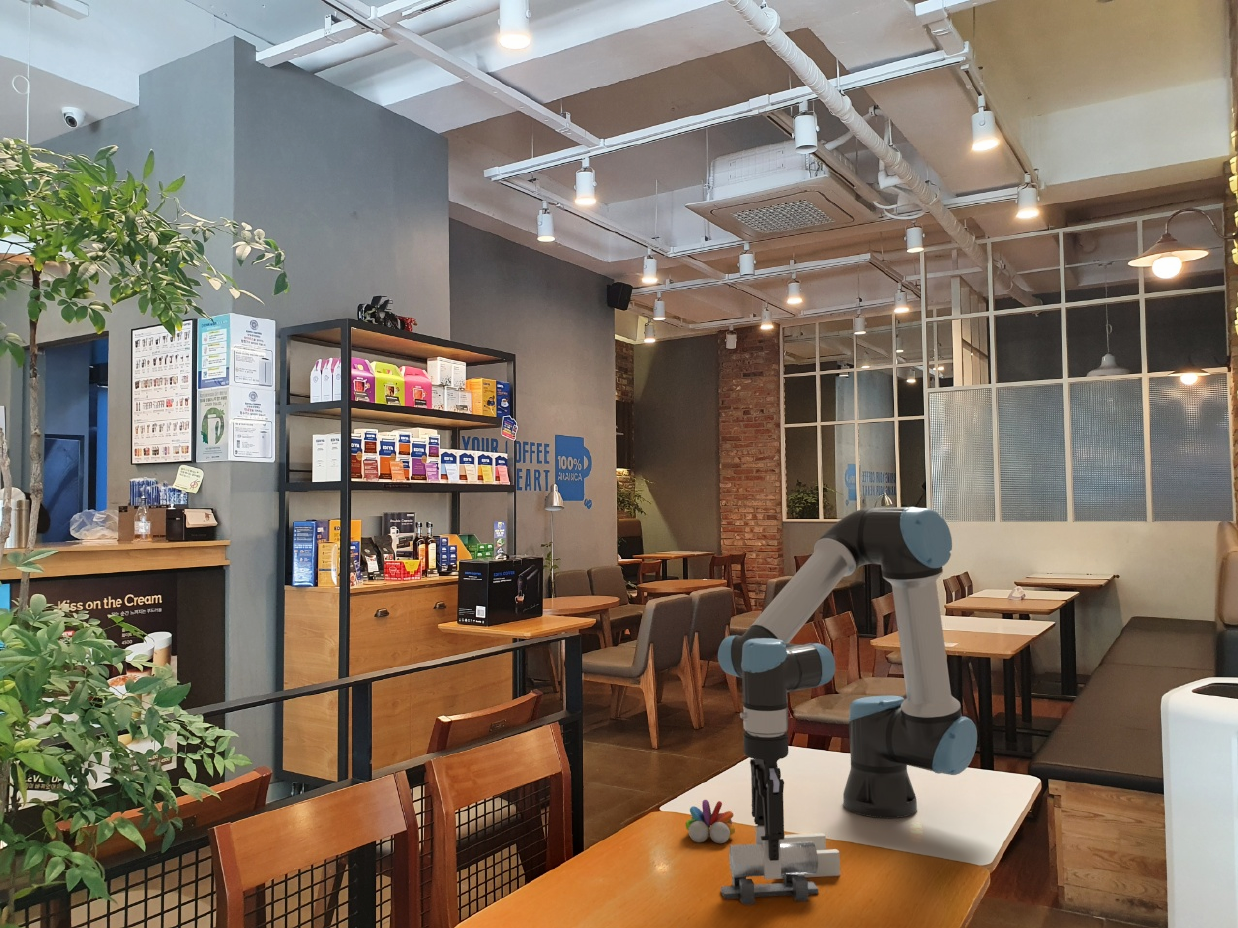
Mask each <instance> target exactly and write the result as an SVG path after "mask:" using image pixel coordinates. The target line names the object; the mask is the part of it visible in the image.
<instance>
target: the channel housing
mask: <svg viewBox="0 0 1238 928" xmlns="http://www.w3.org/2000/svg"><path fill="white" fill-rule="evenodd" d="M784 836H785V837H784V840H780V842H781V843H786V842H807V841H813V842H814V844H815V847H816V850H817V856H818V871H817V873H812V874H798V876H805V878H817V877H839V876H840V877H841V864H840V863H841V859H840V858H841V856H840V851H839V850H838V849H836V848H833V849H832V848H831V849H827V845H826V843H827V842H826V840H827V839H826V835H825V833H823V832H815V833H799V834H798V833H796V834H795V833H794V834H784ZM781 879H782V880H783V875H781Z"/></svg>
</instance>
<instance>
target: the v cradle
mask: <svg viewBox="0 0 1238 928" xmlns="http://www.w3.org/2000/svg"><path fill="white" fill-rule="evenodd" d="M731 880H732V881H731V883H732V885H728V886H727V885H725V886H723V885H722V886H720V892H721V895H722V896H723V899H724V900H731V899H734V900H735V899H739V901H740V902H741V904H742V905H744V906H745V905H755V903H756V901H755V898H767V897H784V896H785V897H786V896H792V897H793V899H794V900H795V902H796V903H797V902H808V901H809V895H818V894H819V888H818V886H817V885H816V883H815V882H814V881H808V879H807V877H805V876H798V874H792V875H783V879H782V881H783V882H780V883H761V884H755V882H754V880H753V878H747V877H733V876H732V875H731Z"/></svg>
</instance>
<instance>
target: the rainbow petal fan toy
mask: <svg viewBox="0 0 1238 928" xmlns="http://www.w3.org/2000/svg"><path fill="white" fill-rule="evenodd" d="M701 802H702V810H701V809H700V808H699V807H697V806H691V807H690V808H689V812H690V815H691V818H690V819H688V820H687V821H686V822H685V829H686V830H687V831H688V835H689V837H690V839H691V840H692V841H694V842H696V843H704V842H705V841H706V840H707V839H708V838H709V837H710V839H711V840H712V841H713V842H714V843H717V844H724V843H726V842H727V841H728V840H729V838H730V836H732V835H734V834H735V831H736V828H735V826H734V825H733V817H734V812H733V811H731V810H727V811H724V812H720V810H722V809H721V808H722V806H723V803H722V801H719V800H718V801H717V802H716V804H715V806H714V809H713V811H711V806H710V802H709V801H708V799H704V800H702V801H701Z"/></svg>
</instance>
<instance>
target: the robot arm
mask: <svg viewBox="0 0 1238 928" xmlns="http://www.w3.org/2000/svg"><path fill="white" fill-rule="evenodd" d="M952 539H953V538H952V533H951V530H950V528H949V524H948V523H947V521H946V520H945V518H944V517H943V516H942V515H941V514H939V512H937V511H936V510H934V509H932V508H928V507H927V508H926V507H916V506H899V507H898V506H895V507H865V508H861V509H859V510H855V511H853V512H851V513H850V514H848V515H846V516H844V517H843V518H842V519H840V520H838V521H837V522H836V523H834V524H833V525H832V526H831V527H829V528H828V530H826V532H824V533H823V535H821V536H820V538H819V539H818V540H817V541H816V542H815V544H814V545H813V553H812V554H811V556H809V558H808V559H807V560H806V562H805V563H804V564H803V565H802V566H801V567H800V568H799V569H798V570H797V572H796V573H795V574H794V575H793V576H792V578H790V580H789V581H788V582H787V583H786V584H785V586H783V588H782V589H781V590H780V591H779V593H778V594H777V595H776V596H775V597H774V598H773V600H771V602H770V603H769V604H768V605H767V606H766V608H764V610H763V611H762V612H761V613H760V614H759V616H757V618H756V619H755V621H754V622H752V624H751V625H750V626H749V627H748V629H747V630H745V632H744V633H743V634H742V635H738V634H736V635H729V636H726V637H725V638H724V639H723V640H722V641H721V643H720V645H719V647H718V651H717V660H718V664H719V667H720V668H721V670H722V671H723V672H724V673H726V674H727V675H731V676H733V677H737V678H740V679H742V681H741V682H742V684H741V685H742V706H743V707H742V708H743V712H740V713H739V718H741V719H742V720H743V730H744V733H743V739H742V740H743V741H742V742H743V754H744V755H745V756H746V757H747V758H750V760H749V764H750V773H751V774H750V775H751V779H750V780H751V783H750V784H751V816H752V818H753V820H754V824H755V832H754V833H755V844H763V847H764V876H763V878H764V880H780V879H781V842H780V840H784V837H785V836H784V835H785V818H784V812H785V811H784V786H785V781H784V779H783V778H782V777H781V776H782V775H781V768H780V767H778V761H780V760H781V759H784V758H786V757H788V755H789V735H788V733H787V731H788V730H789V709H788V708H789V707H788V693H790V692H791V693H792V692H796V691H801V690H806V689H807V690H808V689H812V688H813V689H815V688H818V687H820V686H824V685H825V684H828V683H829V682H830V681H832V679H833V678H834V675H835V673H836V661H835V656H834V655H833V653H832V651H831V650H830V649H829V647H827V646H826V645H824V644H823V643H818V642H817V643H816V642H815V643H811V642H807V643H805V644H796V643H790V642H791V641H792V640H793V638H794V637H795V636H796V635H797V634H798V632H799V631H800V630H801V628H802V627H803V626H805V624H806V623H807V622H808V620H809V619H810V618H811V617H812V615H813V614H814V613H815V612H816V610H817V609H818V608H819V607H820V606H821V604H822V603H823V602H824V601H825V600H826V598H827V597H828V596H829V595H830V593H831V592H832V591H833V590H834V589H835V587H836V586H837V585H838V584H839V583H840V581H841V580H842V579H843V578H844V577H849V576H851V575H853V574H854V572H855V571H856V570H857V568H860V567H862V566H864V565H870V564H872V565H880V566H881V573H882V578H883V579H884V580H885V581H887V582H888V583H890V585H891V588H892V596H893V603H894V612H895V619H896V626H897V631H898V632H897V633H898V641H899V642H898V643H899V649H900V656H901V663H902V671H903V677H904V679H903V680H904V684H905V685H904V687H905V693H906V698H904V696H900V695H873V696H872V695H871V696H865V697H861V698H856V699H854V700H853V701H852V702H851V703H850V705H849V717H848V727H849V747H850V748H849V750H850V752H849V753H850V770H849V774H848V777H847V779H846V784H845V786H844V789H843V796H842V797H843V799H842V800H843V807H844V808H845V809H847V810H848V811H850V812H853V813H854V814H857V815H862V816H865V817H866V816H867V817H873V818H883V819H885V818H886V819H889V818H890V819H893V818H894V819H896V818H903V817H907V816H911V815H913V814H915V813H916V811H917V809H918V807H917V806H918V805H917V800H918V799H917V796H916V794H915V793H916V792H915V791H914V787H913V785H912V781H911V779H910V776H909V773H908V769H907V768H908V767H909V766H910V767H914V768H918V769H921V770H922V769H923V770H927V771H930V772H934V773H935V774H944V775H949V776H956V775H959V774H961V773H963V772H964V771H966V769H967V768H968V767H969V765H970V764H971V762H972V760H973V758H974V755H975V752H976V748H977V744H978V743H977V741H978V731H977V726H976V724H975V723H974V722H973V720H972V719H971V718H969V717H967V716H963V713H962V707H961V702H960V701H959V700H958V699H957V698H955V697H954V696H953V695H952V691H951V684H950V676H949V668H948V662H947V660H948V659H947V654H946V647H945V646H946V645H945V637H944V630H943V624H942V615H941V609H940V601H939V592H938V586H937V579H939V578H940V577H941V576H942V574H943V573H944V568H943V567H944V566H946V564H947V563H949V560H950V558H951V556H952V554H951V551H952V550H953V540H952Z"/></svg>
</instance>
